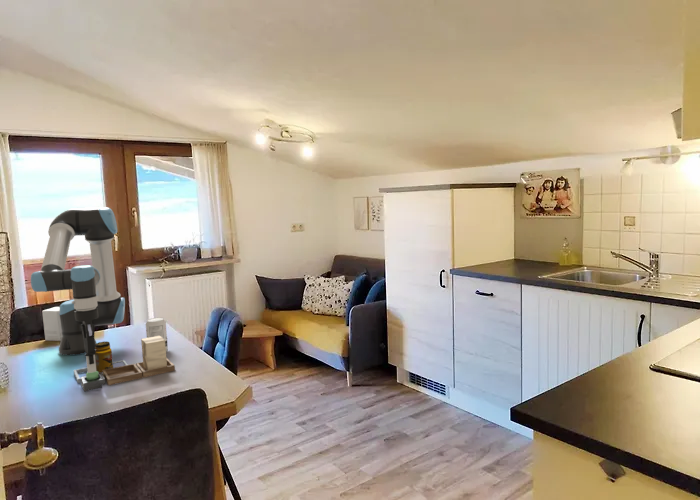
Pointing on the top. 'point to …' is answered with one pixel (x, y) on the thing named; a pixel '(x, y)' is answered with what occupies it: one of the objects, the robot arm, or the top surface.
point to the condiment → (103, 356)
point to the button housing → (92, 383)
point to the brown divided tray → (133, 372)
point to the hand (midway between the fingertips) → (92, 371)
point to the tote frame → (87, 371)
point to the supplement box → (52, 324)
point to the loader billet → (153, 353)
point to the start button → (92, 375)
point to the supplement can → (157, 329)
